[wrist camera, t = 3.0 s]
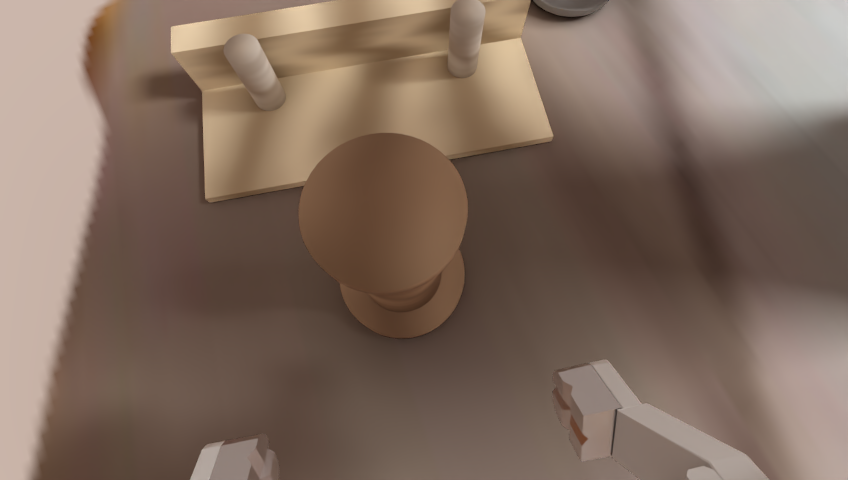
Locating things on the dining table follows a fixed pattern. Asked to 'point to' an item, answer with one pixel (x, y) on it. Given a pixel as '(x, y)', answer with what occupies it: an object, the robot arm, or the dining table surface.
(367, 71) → the peg rack
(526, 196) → the dining table surface
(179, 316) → the dining table surface
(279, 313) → the dining table surface
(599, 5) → the pocket watch
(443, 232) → the flanged spool
